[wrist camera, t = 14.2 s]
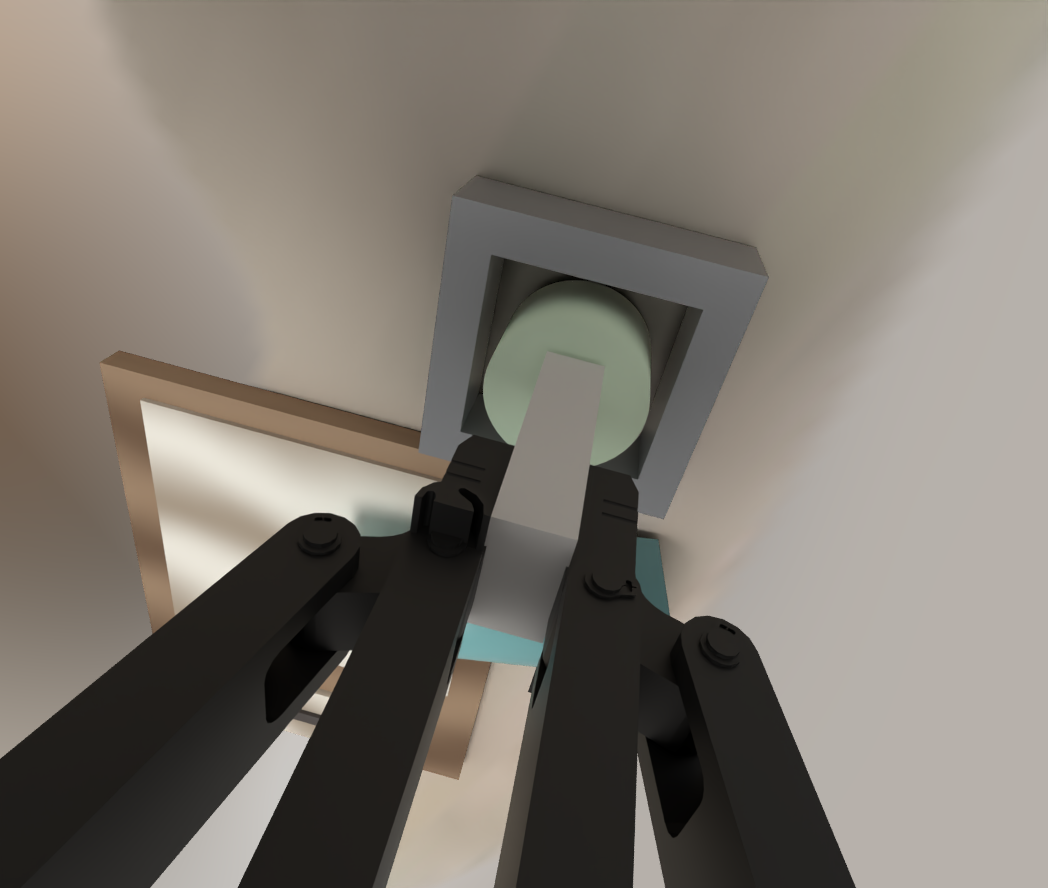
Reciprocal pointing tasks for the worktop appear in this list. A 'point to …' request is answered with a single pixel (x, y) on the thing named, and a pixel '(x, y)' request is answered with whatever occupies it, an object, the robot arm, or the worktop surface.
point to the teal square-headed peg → (527, 652)
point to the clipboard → (261, 496)
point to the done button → (582, 333)
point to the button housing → (605, 257)
